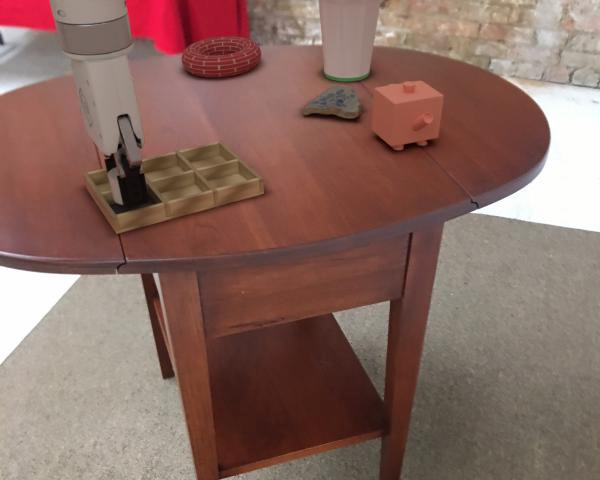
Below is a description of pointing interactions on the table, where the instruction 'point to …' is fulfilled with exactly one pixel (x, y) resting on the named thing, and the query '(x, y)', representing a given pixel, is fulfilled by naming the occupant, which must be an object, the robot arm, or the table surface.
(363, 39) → the cup
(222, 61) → the torus
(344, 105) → the ceramic fragment
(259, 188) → the compartment tray
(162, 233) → the table surface
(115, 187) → the grey squat cylinder
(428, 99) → the pink cube teapot
